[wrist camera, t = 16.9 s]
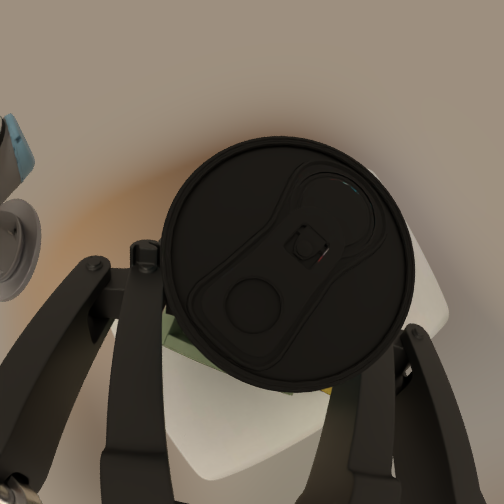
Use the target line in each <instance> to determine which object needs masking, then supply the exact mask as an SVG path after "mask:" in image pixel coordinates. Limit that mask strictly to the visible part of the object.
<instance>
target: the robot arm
mask: <svg viewBox="0 0 504 504" xmlns="http://www.w3.org/2000/svg"><path fill="white" fill-rule="evenodd" d="M34 164H35V161H34V157H33V154H32V152H31V150H30V148H29V146H28V144H27V141H26V139H25V137H24V135H23V133H22V131H21V129H20V127H19V125H18V123H17V121H16V119H15V118H14V116H13V115H12V114H11V113H10V114H8V115H6V116H5V117H4V118H3V119H2V118H1V116H0V206H1V204H2V203H3V202H4V201H5V200H6V199H7V198H8V197H9V196H10V194H11V193H12V192H13V191H14V190H15V189H16V188H17V187H18V186H19V185H20V184H21V183H22V182H23V180H24V179H25V178H26V177H27V175H28V174H29V173H30V172H31V171H32V169H33V167H34ZM160 245H161V239H160V240H159V242H157V241H154V240H140V241H136V242H134V243H133V244H132V245H131V246H130V268H127V269H126V268H125V269H121V268H119V269H118V268H111V264H110V261H109V260H108V259H107V258H105V257H103V256H90V257H87V258H84V259H83V260H81V261H80V262H79V264H78V265H77V266H76V267H75V268H74V269H73V270H72V271H71V272H70V274H69V275H68V276H67V277H66V278H65V279H64V280H63V281H62V283H61V284H60V285H59V286H58V287H57V288H56V290H55V291H54V292H53V293H52V294H51V296H50V297H49V298H48V299H47V301H46V302H45V303H44V304H43V306H42V307H41V308H40V309H39V311H38V312H37V313H36V315H35V316H34V317H33V319H32V320H31V321H30V323H29V324H28V325H27V327H26V328H25V329H24V331H23V332H22V334H21V335H20V336H19V338H18V339H17V341H16V342H15V344H14V345H13V347H12V348H11V350H10V351H9V353H8V354H7V356H6V357H5V359H4V360H3V362H2V364H1V365H0V504H42V502H41V500H40V498H39V496H38V495H37V493H38V492H39V490H40V489H41V487H42V485H43V484H44V482H45V480H46V478H47V475H48V473H49V470H50V467H51V465H52V462H53V459H54V456H55V453H56V450H57V447H58V444H59V441H60V438H61V435H62V433H63V430H64V428H65V425H66V422H67V420H68V418H69V415H70V412H71V410H72V408H73V405H74V403H75V401H76V398H77V396H78V394H79V391H80V389H81V387H82V384H83V382H84V380H85V378H86V376H87V374H88V371H89V369H90V367H91V365H92V363H93V361H94V359H95V357H96V355H97V353H98V351H99V349H100V347H101V345H102V343H103V341H104V338H105V337H106V335H107V333H108V331H109V329H110V327H111V326H112V324H113V322H114V320H115V319H119V321H118V326H117V332H116V338H115V345H114V352H113V359H112V367H111V375H110V385H109V396H108V411H107V432H106V447H105V449H104V450H103V451H102V454H101V459H100V484H101V498H102V499H101V500H102V504H187V503H182V502H178V501H175V500H174V495H173V488H172V483H171V475H170V467H169V459H168V451H167V441H166V430H165V417H164V401H163V378H162V312H163V310H164V307H165V305H166V314H169V315H172V316H174V315H173V313H172V311H171V308H170V306H169V303H168V301H167V298H166V294H165V291H164V287H163V282H162V277H161V268H160ZM23 246H24V228H23V225H22V222H21V220H20V219H19V218H18V217H17V216H16V215H14V214H13V213H11V212H8V211H1V210H0V282H3V281H5V280H6V279H8V278H9V277H10V276H11V275H12V274H13V272H14V271H15V269H16V267H17V265H18V263H19V261H20V258H21V255H22V251H23ZM410 366H411V368H412V372H411V373H410V374H409V375H408V376H407V375H406V373H405V371H406V370H407V369H408V368H409V367H410ZM393 458H394V466H395V475H396V478H394V477H393V476H392V474H391V468H392V459H393ZM295 504H486V502H485V499H484V497H483V495H482V493H481V491H480V487H479V482H478V477H477V472H476V467H475V463H474V458H473V454H472V450H471V447H470V443H469V440H468V436H467V432H466V429H465V426H464V422H463V419H462V416H461V413H460V410H459V407H458V405H457V402H456V399H455V396H454V393H453V391H452V388H451V385H450V383H449V380H448V378H447V375H446V373H445V371H444V368H443V366H442V364H441V362H440V359H439V357H438V354H437V352H436V350H435V348H434V346H433V343H432V341H431V339H430V337H429V335H428V333H427V332H426V331H425V330H424V329H423V327H420V326H419V325H416V324H411V323H410V324H408V325H407V326H406V328H405V329H404V330H400V332H399V334H398V335H397V337H396V338H395V340H394V341H393V343H392V344H391V346H390V347H389V348H388V350H387V351H386V352H385V353H384V354H383V355H382V356H381V357H380V358H379V359H378V360H377V361H376V362H375V363H374V364H373V365H371V366H370V367H369V368H368V369H366V370H365V371H364V372H362V373H361V374H359V375H358V376H356V377H354V378H352V379H350V380H348V381H346V382H344V383H341V384H339V385H336V386H334V387H332V390H331V395H330V400H329V404H328V409H327V413H326V417H325V422H324V426H323V430H322V433H321V437H320V442H319V445H318V449H317V452H316V455H315V459H314V462H313V466H312V469H311V472H310V476H309V478H308V481H307V484H306V487H305V489H304V491H303V493H302V494H301V495H300V496H299V498H298V499H297V500H296V502H295Z"/></svg>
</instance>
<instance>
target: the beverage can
mask: <svg viewBox="0 0 504 504" xmlns="http://www.w3.org/2000/svg"><path fill="white" fill-rule="evenodd" d="M160 268H161V277H162V282H163V287H164V291H165V294H166V298H167V301H168V303H169V306H170V308H171V311H172V313H173V315H174V317H175V319H176V321H177V322H178V324H179V326H180V328H181V329H182V331H183V332H184V333H185V335H186V336H187V338H188V339H189V341H190V342H191V343H192V344H193V345H194V346H195V347H196V348H197V349H198V350H199V351H200V352H201V354H202V355H203V356H204V357H205V358H207V359H208V360H209V361H210V362H211V363H213V364H214V365H215V366H216V367H218V368H219V369H221V370H222V371H224V372H225V373H227V374H229V375H230V376H232V377H234V378H236V379H238V380H240V381H242V382H245V383H247V384H250V385H253V386H255V387H259V388H263V389H267V390H271V391H278V392H289V393H301V392H312V391H318V390H323V389H327V388H330V387H334V386H336V385H339V384H341V383H344V382H346V381H348V380H350V379H352V378H354V377H356V376H358V375H359V374H361V373H362V372H364V371H365V370H366V369H368V368H369V367H370V366H371V365H373V364H374V363H375V362H376V361H377V360H378V359H379V358H380V357H381V356H382V355H383V354H384V353H385V352H386V351H387V350H388V348H389V347H390V346H391V344H392V343H393V341H394V340H395V338H396V337H397V335H398V334H399V332H400V330H401V328H402V326H403V324H404V322H405V319H406V317H407V315H408V312H409V308H410V305H411V301H412V297H413V291H414V284H415V259H414V251H413V246H412V241H411V237H410V234H409V231H408V228H407V225H406V223H405V220H404V218H403V216H402V214H401V211H400V209H399V208H398V206H397V204H396V202H395V201H394V199H393V198H392V196H391V195H390V193H389V192H388V191H387V189H386V188H385V187H384V186H383V185H382V183H381V182H380V181H379V180H378V179H377V178H376V177H375V176H374V175H373V174H372V173H371V172H370V171H369V170H368V169H366V168H365V167H364V166H363V165H362V164H360V163H359V162H357V161H356V160H355V159H353V158H352V157H350V156H348V155H347V154H345V153H343V152H341V151H339V150H337V149H335V148H333V147H331V146H328V145H326V144H323V143H320V142H316V141H313V140H308V139H304V138H298V137H287V136H272V137H261V138H256V139H251V140H248V141H244V142H241V143H238V144H235V145H233V146H230V147H228V148H227V149H224V150H222V151H220V152H218V153H217V154H215V155H214V156H212V157H211V158H210V159H208V160H207V161H206V162H204V163H203V164H202V165H201V166H200V167H199V168H197V169H196V170H195V171H194V172H193V173H192V175H190V177H189V178H188V179H187V180H186V181H185V183H184V184H183V185H182V187H181V188H180V190H179V191H178V193H177V195H176V196H175V198H174V200H173V202H172V204H171V206H170V209H169V211H168V214H167V217H166V219H165V223H164V227H163V231H162V237H161V245H160Z"/></svg>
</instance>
